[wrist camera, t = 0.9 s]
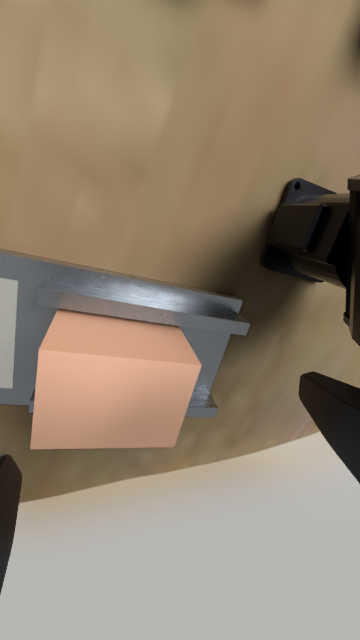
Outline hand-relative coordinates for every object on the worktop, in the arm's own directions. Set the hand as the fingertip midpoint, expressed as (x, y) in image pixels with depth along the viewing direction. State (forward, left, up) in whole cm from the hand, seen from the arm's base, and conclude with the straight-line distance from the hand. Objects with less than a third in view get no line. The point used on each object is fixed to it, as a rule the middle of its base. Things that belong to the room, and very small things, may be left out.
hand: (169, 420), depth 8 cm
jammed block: (+1, +4, -11) cm, 12 cm away
